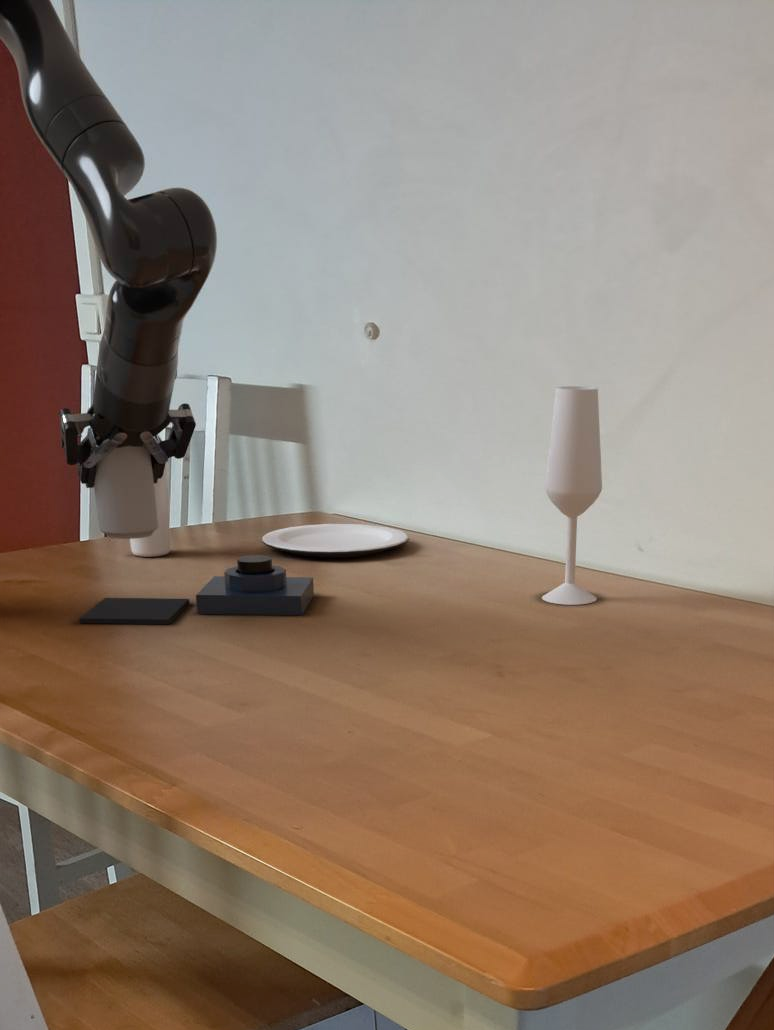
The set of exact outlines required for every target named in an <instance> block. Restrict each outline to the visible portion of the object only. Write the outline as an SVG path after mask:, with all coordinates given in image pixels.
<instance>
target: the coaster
mask: <svg viewBox="0 0 774 1030" xmlns="http://www.w3.org/2000/svg"><path fill="white" fill-rule="evenodd" d="M189 605H190V598H157V597H154V598H152V597H151V598H150V597H149V598H148V597H104V598H103V599H102V600H100V601H99V602H98V603H96V605H94V606H92V607H91V608H90V609H89V610H88V611H87V612H85V613H84V614H83V615H82V616H80V617H79V620H78V621H79V624H90V625H91V624H94V625H95V624H99V625H103V624H105V625H171V623H172V622H174V620H176V618H177V617H178V616H179V615H180V614H181V613H182V612H183V611H184V610H185V609H186V608H187V607H188V606H189Z"/></svg>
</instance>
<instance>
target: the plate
mask: <svg viewBox="0 0 774 1030" xmlns="http://www.w3.org/2000/svg"><path fill="white" fill-rule="evenodd" d="M409 539H410V537H409V535H408V533H406V532H404V531H402V530H400V529H396V528H392V527H389V526H388V527H387V526H380V525H375V524H374V525H373V524H361V523H323V524H320V523H319V524H305V525H298V526H290V527H285V528H280V529H276V530H272V531H270V532H268V533H266V534H264V535H263V536H262V539H261V543H263V544H264V545H266V546H267V547H268V548H272V549H275V550H279V551H283V552H286V553H289V554H292V555H298V556H303V557H312V558H326V559H328V558H329V559H330V558H335V559H336V558H355V557H363V556H370V555H374V554H375V555H376V554H379V553H382V552H385V551H387V550H390V549H394V548H397V547H398V548H399V547H401V546H403V545H405V544H406V543H407V542H408V541H409Z"/></svg>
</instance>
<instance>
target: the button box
mask: <svg viewBox="0 0 774 1030" xmlns="http://www.w3.org/2000/svg"><path fill="white" fill-rule="evenodd" d="M272 571H273V572H272V573H268V574H259V575H245V574H239V573H238V567H237V566H233V567H232V566H231V567H229V568H227V569H226V570H225V571H224V572H223V573H224V574H223V575H224V576H223V575H222V576H219V575H218V576H217V575H216V576H215V575H214V576H213V577H212V578H211V579H210V580H209V581H208V582H207V583H206V584H205V585H204V586H203V587H202V588H201V589H200V590H199V591H198V592H197V593H196V594H195V604H196V614H197V615H246V616H247V615H249V616H250V615H251V616H252V615H253V616H255V615H256V616H258V615H259V616H261V615H262V616H264V615H265V616H266V615H267V616H302V615H303V614H304V613H305V611H306V609H307V608H308V606H309V604H310V603H311V601H312V599H313V597H314V596H315V589H314V577H313V576H312V577H311V576H310V577H308V576H307V577H306V576H305V577H304V576H301V577H300V576H287V569H286V568H284V567H282V566H279V565H273V564H272Z"/></svg>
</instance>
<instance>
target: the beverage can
mask: <svg viewBox="0 0 774 1030" xmlns="http://www.w3.org/2000/svg"><path fill="white" fill-rule="evenodd" d="M91 450H92V449H91ZM95 465H96V474H95V481H94V488H93V489H94V497H95V505H96V514H97V515H96V516H97V523H98V529H99V531H100V532H102V534H105V535H106V537H107V538H111V539H115V540H117V539H119V540H130V539H134V538H143V537H148V536H151V535H152V533H153V532H154V531H155V530H156V529H157V528H158V520H157V510H156V500H155V490H154V480H153V470H152V460H151V453H150V451H149V449H148V448H147V446H146V445H145V444H143V446H140V447H134V446H125V447H121V448H115V449H114V450H113V451H112V452H111V453H110V454H109V455H108V456H107V457H106V458H104V457H102V458H101V459H100V460H99V461H98V462H97V463H96V464H95Z"/></svg>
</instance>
